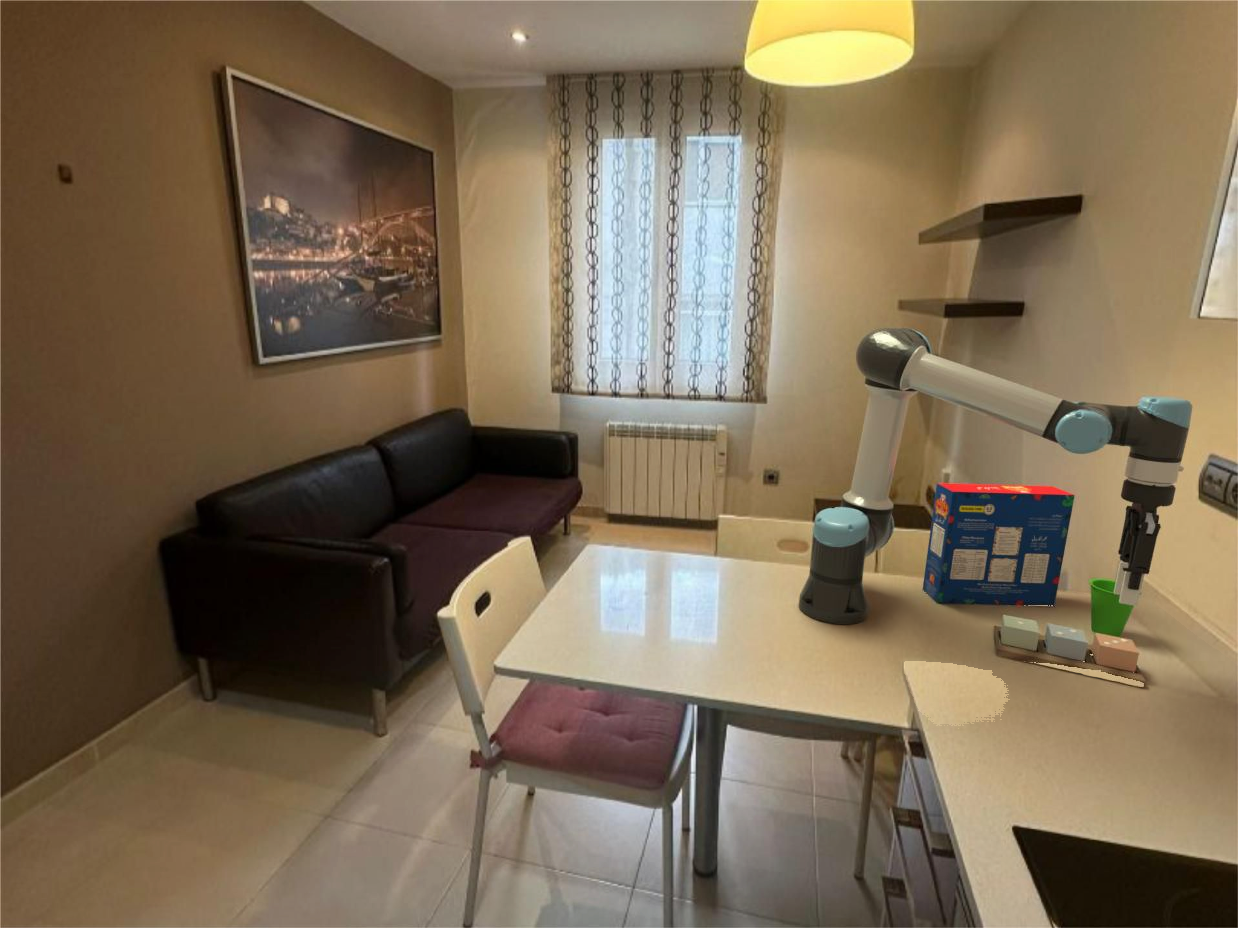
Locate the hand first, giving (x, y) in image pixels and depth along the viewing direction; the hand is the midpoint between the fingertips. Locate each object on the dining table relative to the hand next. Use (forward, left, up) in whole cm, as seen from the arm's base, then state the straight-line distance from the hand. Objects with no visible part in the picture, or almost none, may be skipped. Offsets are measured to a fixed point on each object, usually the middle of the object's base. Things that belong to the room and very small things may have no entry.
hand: (1125, 598), depth 123 cm
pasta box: (-21, +26, -15) cm, 36 cm away
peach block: (0, 0, -13) cm, 13 cm away
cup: (+2, +18, -15) cm, 23 cm away
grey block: (-8, 0, -13) cm, 15 cm away
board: (-8, 0, -15) cm, 17 cm away
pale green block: (-16, 0, -13) cm, 21 cm away
